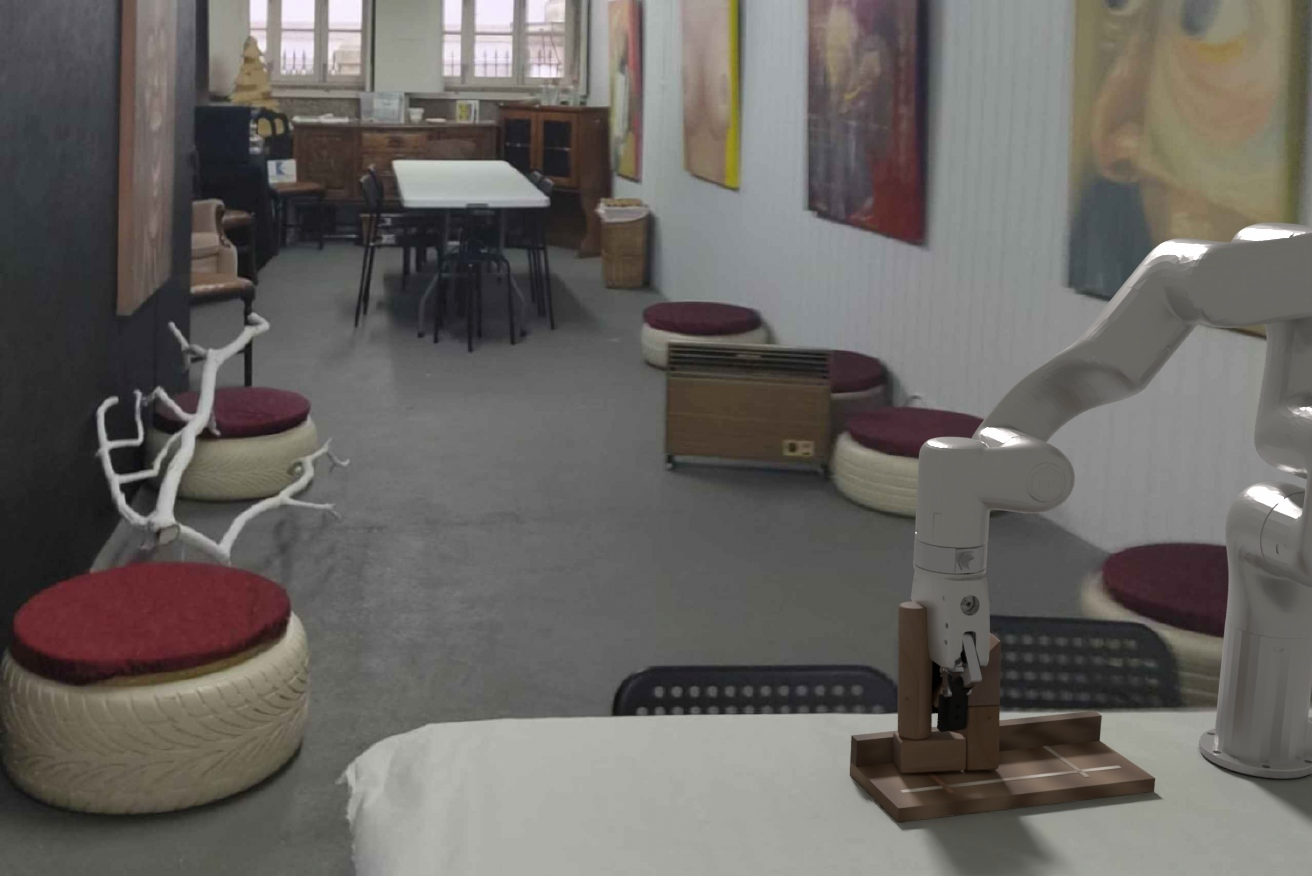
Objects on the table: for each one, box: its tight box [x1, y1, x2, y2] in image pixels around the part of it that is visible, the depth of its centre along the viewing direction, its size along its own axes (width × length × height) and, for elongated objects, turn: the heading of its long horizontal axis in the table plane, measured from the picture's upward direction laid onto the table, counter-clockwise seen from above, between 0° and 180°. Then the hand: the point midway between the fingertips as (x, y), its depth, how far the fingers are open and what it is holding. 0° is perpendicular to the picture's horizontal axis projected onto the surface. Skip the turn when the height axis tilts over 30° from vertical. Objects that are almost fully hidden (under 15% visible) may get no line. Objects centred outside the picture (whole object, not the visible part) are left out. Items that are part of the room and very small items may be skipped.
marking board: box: [849, 710, 1156, 823], centre depth 160 cm, size 30×12×4 cm, turn 106°
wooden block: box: [893, 600, 1002, 773], centre depth 158 cm, size 4×11×18 cm, turn 95°
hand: (941, 719), depth 159 cm, fingers closed on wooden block, 4 cm apart
